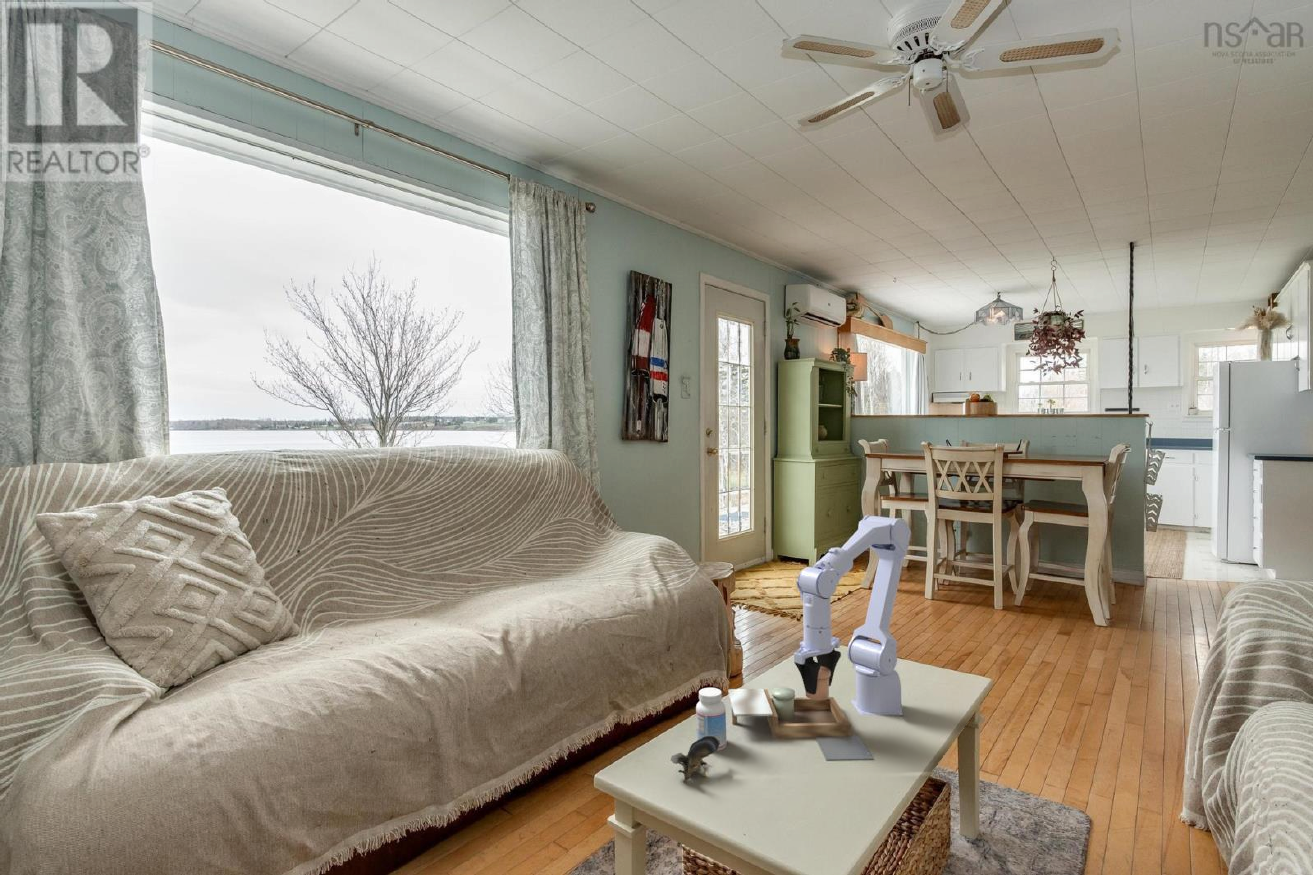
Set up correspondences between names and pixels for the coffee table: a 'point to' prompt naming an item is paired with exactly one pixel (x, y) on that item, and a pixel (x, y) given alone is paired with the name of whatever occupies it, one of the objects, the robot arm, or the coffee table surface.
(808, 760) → the coffee table surface
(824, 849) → the coffee table surface
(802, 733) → the cold frame
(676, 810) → the coffee table surface
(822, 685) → the peach rounded knob
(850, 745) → the slate tile
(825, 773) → the coffee table surface
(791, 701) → the mint green knob
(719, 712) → the pill bottle
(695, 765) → the squirrel figurine
